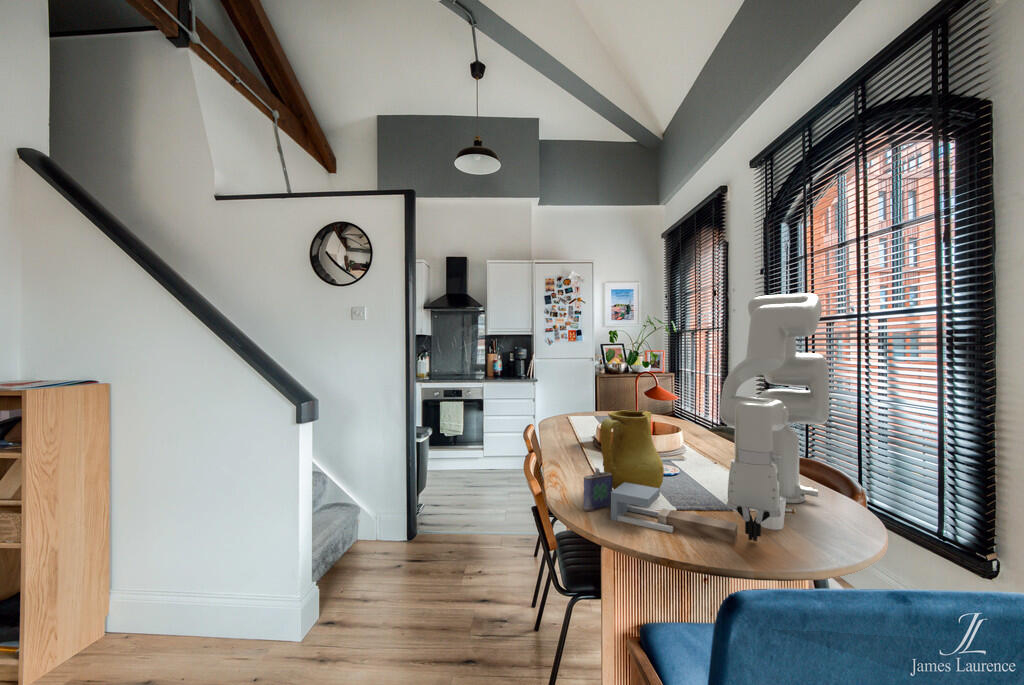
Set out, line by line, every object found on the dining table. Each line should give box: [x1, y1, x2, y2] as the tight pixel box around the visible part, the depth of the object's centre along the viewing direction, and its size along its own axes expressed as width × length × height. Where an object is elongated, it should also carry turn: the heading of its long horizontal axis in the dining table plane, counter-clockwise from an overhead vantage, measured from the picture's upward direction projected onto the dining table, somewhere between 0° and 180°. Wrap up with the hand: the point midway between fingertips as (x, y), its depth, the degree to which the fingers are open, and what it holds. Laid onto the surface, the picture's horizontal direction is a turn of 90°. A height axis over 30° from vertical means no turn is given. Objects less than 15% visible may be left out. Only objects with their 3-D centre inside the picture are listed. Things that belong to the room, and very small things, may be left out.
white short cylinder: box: [755, 496, 787, 531], centre depth 111 cm, size 7×7×7 cm
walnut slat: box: [657, 508, 738, 544], centre depth 107 cm, size 17×5×3 cm, turn 57°
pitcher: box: [599, 409, 665, 491], centre depth 132 cm, size 17×19×25 cm
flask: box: [583, 467, 613, 513], centre depth 122 cm, size 9×3×11 cm, turn 117°
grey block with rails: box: [610, 482, 674, 534], centre depth 114 cm, size 15×10×7 cm, turn 57°
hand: (753, 538), depth 100 cm, fingers closed
